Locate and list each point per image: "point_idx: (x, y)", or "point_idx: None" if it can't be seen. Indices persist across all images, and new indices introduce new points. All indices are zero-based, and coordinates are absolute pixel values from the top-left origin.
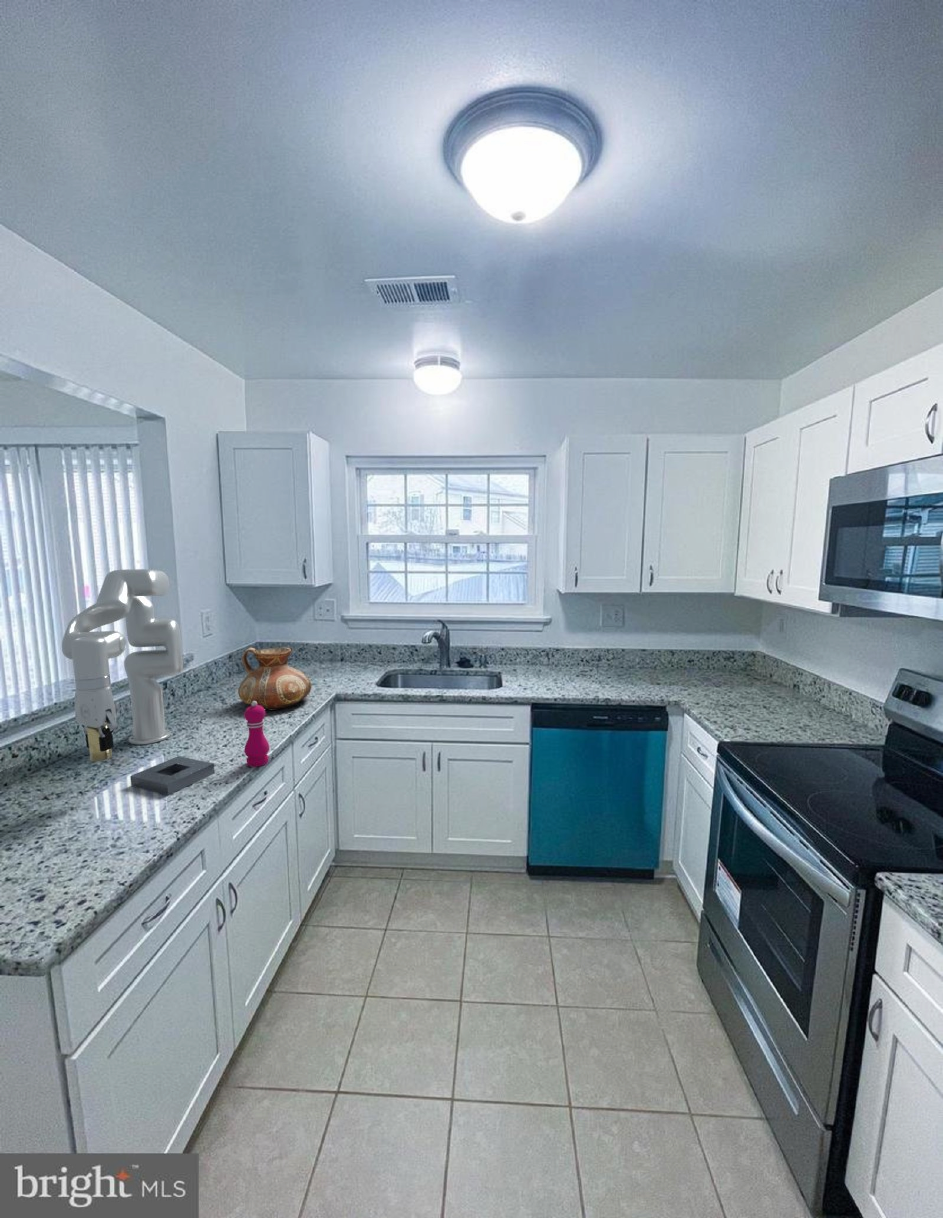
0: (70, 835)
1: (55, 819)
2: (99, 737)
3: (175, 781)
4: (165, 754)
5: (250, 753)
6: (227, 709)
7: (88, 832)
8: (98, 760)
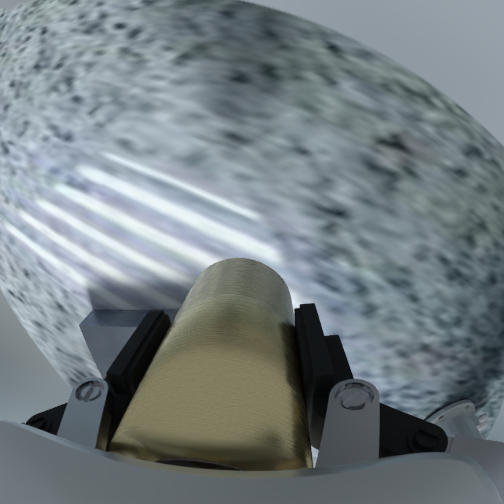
0: (81, 82)
1: (205, 81)
2: (114, 376)
3: (87, 344)
4: None
5: None
6: None
7: (60, 113)
8: (200, 276)
